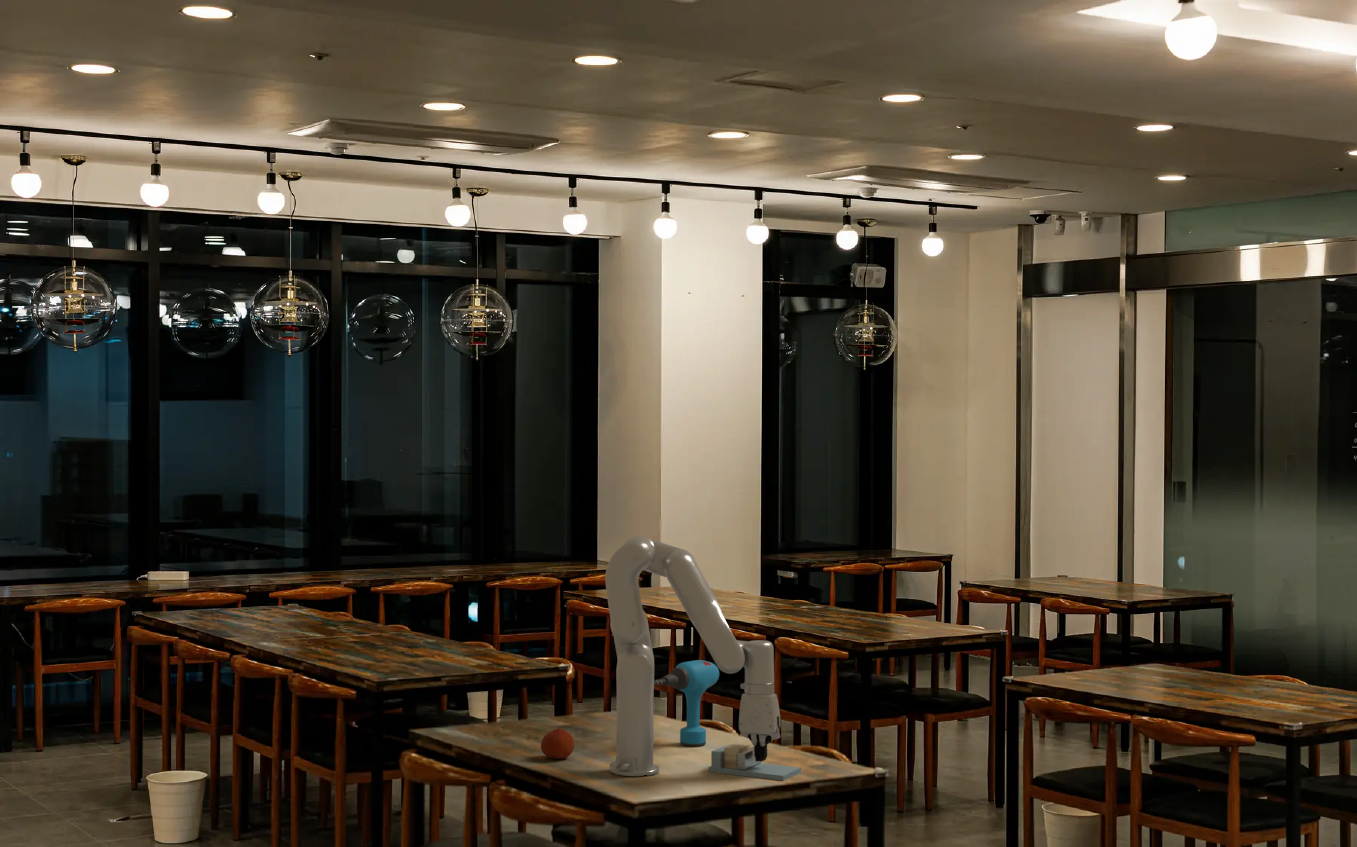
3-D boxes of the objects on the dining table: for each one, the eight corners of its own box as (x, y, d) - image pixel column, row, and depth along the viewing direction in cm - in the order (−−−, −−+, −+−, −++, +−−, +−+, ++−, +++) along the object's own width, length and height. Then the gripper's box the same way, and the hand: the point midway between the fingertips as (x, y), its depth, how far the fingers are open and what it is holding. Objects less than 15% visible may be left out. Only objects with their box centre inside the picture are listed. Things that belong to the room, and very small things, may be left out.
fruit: (554, 753, 430) (555, 724, 430) (580, 757, 425) (580, 727, 425) (533, 759, 423) (533, 728, 423) (559, 763, 418) (559, 732, 418)
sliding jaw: (744, 769, 405) (744, 753, 405) (735, 768, 406) (735, 752, 406) (761, 762, 414) (761, 746, 414) (752, 761, 415) (752, 745, 415)
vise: (783, 780, 399) (783, 759, 399) (708, 771, 409) (708, 751, 409) (800, 772, 409) (800, 751, 409) (727, 763, 419) (727, 743, 419)
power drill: (660, 756, 427) (660, 670, 427) (636, 752, 432) (637, 666, 433) (726, 741, 448) (727, 659, 448) (703, 737, 454) (703, 655, 454)
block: (738, 768, 407) (738, 749, 407) (724, 766, 409) (724, 747, 409) (749, 763, 413) (750, 744, 413) (736, 761, 415) (736, 742, 415)
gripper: (727, 689, 409) (728, 760, 409) (780, 693, 402) (781, 765, 402) (739, 685, 415) (741, 755, 415) (792, 688, 408) (793, 759, 408)
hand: (760, 760), depth 408 cm, fingers closed
